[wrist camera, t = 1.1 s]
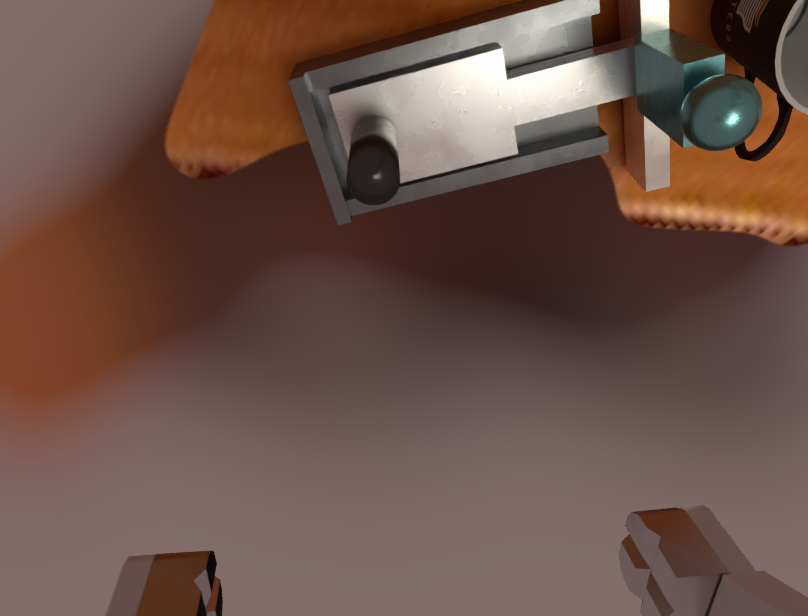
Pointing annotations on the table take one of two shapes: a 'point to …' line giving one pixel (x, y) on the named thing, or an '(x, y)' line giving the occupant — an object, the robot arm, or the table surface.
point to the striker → (542, 104)
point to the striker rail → (508, 25)
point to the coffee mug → (767, 53)
